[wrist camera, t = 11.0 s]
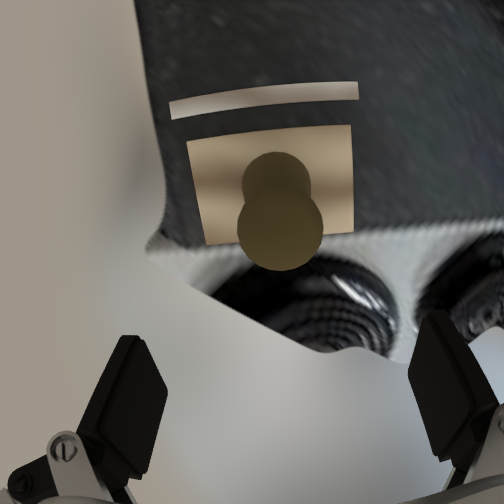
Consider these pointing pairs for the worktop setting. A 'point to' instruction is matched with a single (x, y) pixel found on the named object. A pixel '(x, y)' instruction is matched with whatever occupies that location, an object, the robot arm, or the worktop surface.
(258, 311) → the worktop surface
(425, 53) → the worktop surface
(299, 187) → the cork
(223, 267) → the worktop surface
